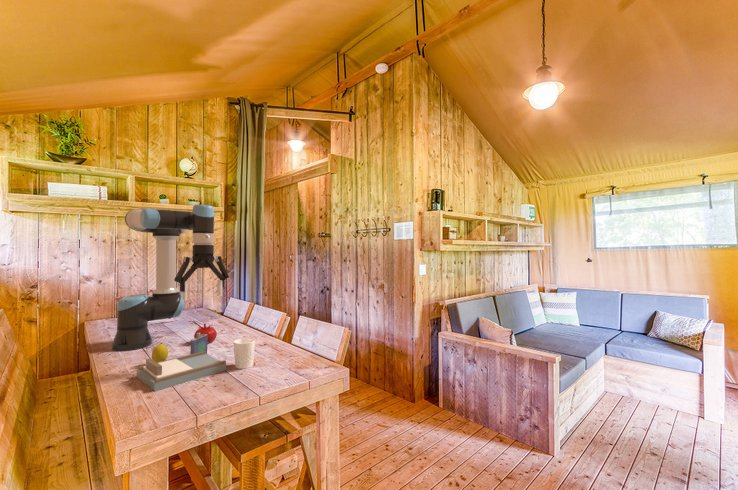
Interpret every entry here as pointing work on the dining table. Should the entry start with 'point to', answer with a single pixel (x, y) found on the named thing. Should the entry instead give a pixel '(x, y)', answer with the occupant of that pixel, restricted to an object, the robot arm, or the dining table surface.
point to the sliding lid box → (197, 361)
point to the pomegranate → (207, 332)
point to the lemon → (159, 353)
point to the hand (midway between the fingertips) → (202, 298)
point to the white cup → (244, 352)
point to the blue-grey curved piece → (199, 343)
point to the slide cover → (165, 368)
